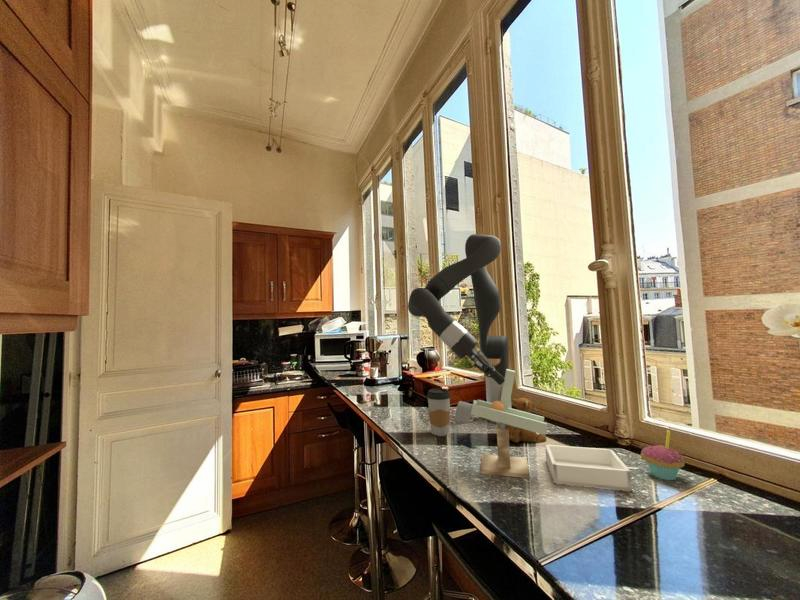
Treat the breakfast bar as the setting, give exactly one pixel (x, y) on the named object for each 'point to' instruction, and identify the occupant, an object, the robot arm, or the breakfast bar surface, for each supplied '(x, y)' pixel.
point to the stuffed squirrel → (519, 433)
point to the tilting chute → (506, 417)
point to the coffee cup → (439, 411)
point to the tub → (587, 467)
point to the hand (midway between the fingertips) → (502, 382)
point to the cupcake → (663, 460)
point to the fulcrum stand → (504, 459)
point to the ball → (497, 406)
